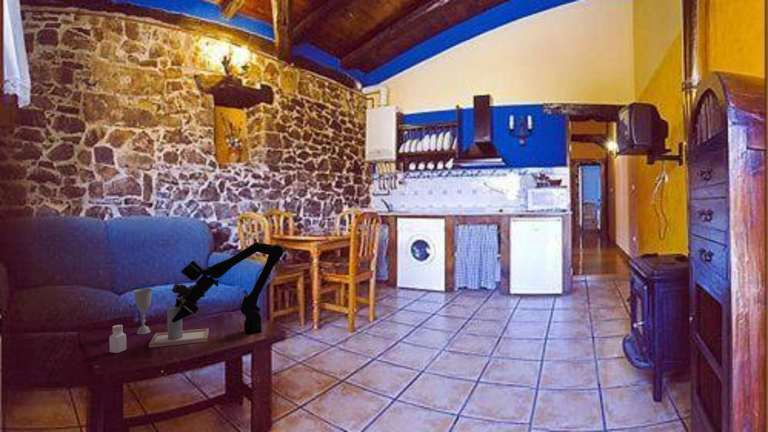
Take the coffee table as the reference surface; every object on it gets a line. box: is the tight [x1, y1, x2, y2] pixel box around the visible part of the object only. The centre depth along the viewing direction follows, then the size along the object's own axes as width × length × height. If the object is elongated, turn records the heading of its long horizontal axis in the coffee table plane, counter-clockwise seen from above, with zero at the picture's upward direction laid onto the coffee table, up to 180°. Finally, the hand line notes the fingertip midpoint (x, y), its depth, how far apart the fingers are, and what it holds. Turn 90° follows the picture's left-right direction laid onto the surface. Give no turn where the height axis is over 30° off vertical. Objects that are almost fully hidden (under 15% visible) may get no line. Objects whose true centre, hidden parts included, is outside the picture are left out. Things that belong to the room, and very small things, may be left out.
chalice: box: [132, 287, 153, 335], centre depth 172 cm, size 7×7×18 cm
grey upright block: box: [166, 306, 183, 340], centre depth 163 cm, size 5×5×12 cm
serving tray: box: [148, 327, 210, 348], centre depth 164 cm, size 20×13×2 cm, turn 110°
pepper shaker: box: [108, 324, 127, 354], centre depth 151 cm, size 4×4×10 cm
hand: (170, 319), depth 162 cm, fingers open, 9 cm apart
